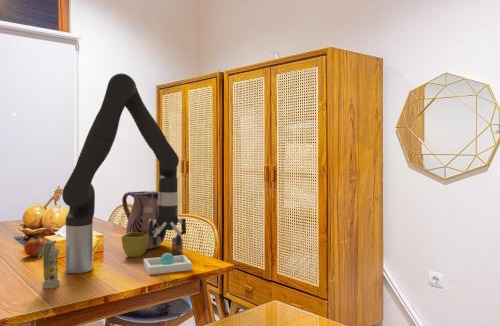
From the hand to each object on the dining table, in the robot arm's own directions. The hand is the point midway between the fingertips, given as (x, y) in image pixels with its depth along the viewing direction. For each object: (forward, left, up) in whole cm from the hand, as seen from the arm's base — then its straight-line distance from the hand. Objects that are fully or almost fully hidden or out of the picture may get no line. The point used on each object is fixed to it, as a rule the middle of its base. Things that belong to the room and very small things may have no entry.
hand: (166, 245), depth 160 cm
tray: (0, 0, -8) cm, 8 cm away
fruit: (-48, +34, -9) cm, 59 cm away
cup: (+7, +14, -8) cm, 18 cm away
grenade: (-41, -8, -9) cm, 42 cm away
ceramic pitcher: (-4, +35, -9) cm, 36 cm away
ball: (0, 0, -5) cm, 5 cm away
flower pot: (-9, +21, -9) cm, 24 cm away
